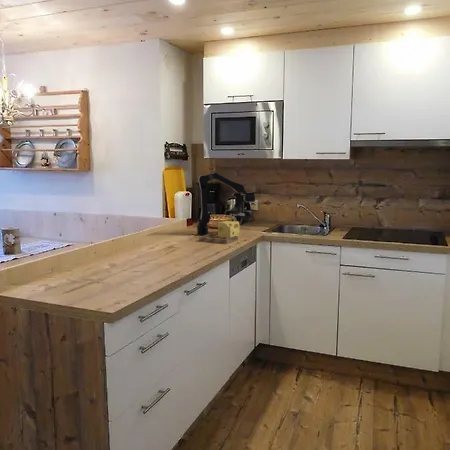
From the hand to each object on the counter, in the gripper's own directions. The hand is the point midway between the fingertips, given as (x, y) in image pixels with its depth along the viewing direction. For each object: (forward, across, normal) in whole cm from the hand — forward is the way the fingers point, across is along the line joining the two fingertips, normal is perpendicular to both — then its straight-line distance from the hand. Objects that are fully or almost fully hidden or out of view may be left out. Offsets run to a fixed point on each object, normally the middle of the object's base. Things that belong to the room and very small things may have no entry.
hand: (239, 225), depth 301 cm
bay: (+5, 0, -28) cm, 28 cm away
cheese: (+6, 0, -16) cm, 17 cm away
